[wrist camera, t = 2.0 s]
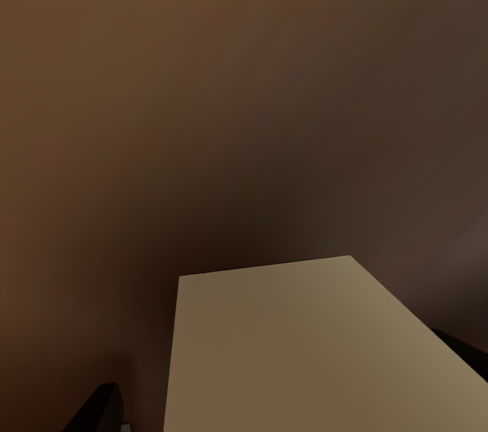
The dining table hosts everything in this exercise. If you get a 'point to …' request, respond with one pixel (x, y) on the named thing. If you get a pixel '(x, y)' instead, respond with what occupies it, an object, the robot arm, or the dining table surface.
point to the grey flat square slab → (125, 428)
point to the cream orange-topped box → (311, 356)
